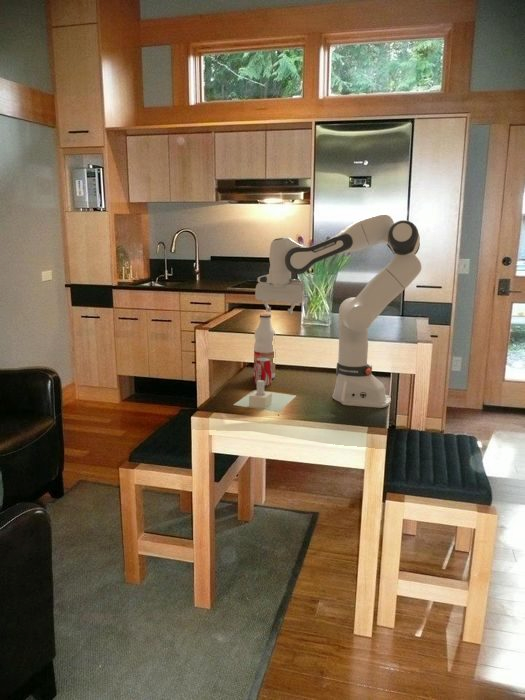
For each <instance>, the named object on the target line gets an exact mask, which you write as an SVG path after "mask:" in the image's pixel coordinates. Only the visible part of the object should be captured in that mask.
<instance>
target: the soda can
mask: <svg viewBox="0 0 525 700" xmlns="http://www.w3.org/2000/svg"><path fill="white" fill-rule="evenodd" d="M270 360H271V359H270V358H267V357H260V358H257V361H256V362H255V377H254V384H255V385H256V386H257V381H258V380H263V381H265V386H264V387H267V386H270V385H272V381H273V378H272V362H271V361H270Z"/></svg>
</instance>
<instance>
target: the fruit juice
mask: <svg viewBox="0 0 525 700" xmlns="http://www.w3.org/2000/svg"><path fill="white" fill-rule="evenodd" d="M259 319H260V320H259V324H258V326H257V328H256V329H255V331H254V339H255V341H254V344H253V345H254V346H253V376H254V378H255V362H256V361H257V358H260V357H267V358H270V359H271V360H270V361H271V362H272V379H274V378H275V376H276V362H275V363H273V358H274V351H273V345H272V341H273V335H274V334H275V335H276V331H275V330H274V328H273V326H272V323H271V319H272V314H270V313H260V314H259Z"/></svg>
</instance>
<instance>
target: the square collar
mask: <svg viewBox="0 0 525 700" xmlns="http://www.w3.org/2000/svg"><path fill="white" fill-rule="evenodd" d="M269 392H270V391H266V392H264V396H260V395H257V391H255V392H253V393H252V394H251V395H249V406H253V407H259V408H266V407H268V406H269V405H270V404H271V403H272V393H269Z"/></svg>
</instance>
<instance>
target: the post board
mask: <svg viewBox="0 0 525 700" xmlns="http://www.w3.org/2000/svg"><path fill="white" fill-rule="evenodd" d="M265 387H266V386H265V381H263V380H258V381H257V385H256V389H254V390H253V389H252V391H250V392H249V393H248V394H246V395H244V396H243V397H242V398H240V399H239V400H238V401H236V402H235V403H234V404H233V406H237V407H242V408H243V407H244V408H245V407H246V408H252V409H257V410H265V411H270V412H276V413H280V412H281V411H282V410H283V409H284V408H285V407H286V406H288V404H290V403H291V402H292V401H293V400H294V399H295V398H296V397H297V395H293V394H288V393H281V392H279V393H278V392H273V391H268V392H269V393H272V403H271V404H270V405H269V406H268V407H266V408H259V407H253V406H249V395H251V394H252V393H253V392H255V391H257V395H260V396H264V392H267V391H265ZM277 415H278V416H280V414H277ZM278 416H277V417H278Z"/></svg>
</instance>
